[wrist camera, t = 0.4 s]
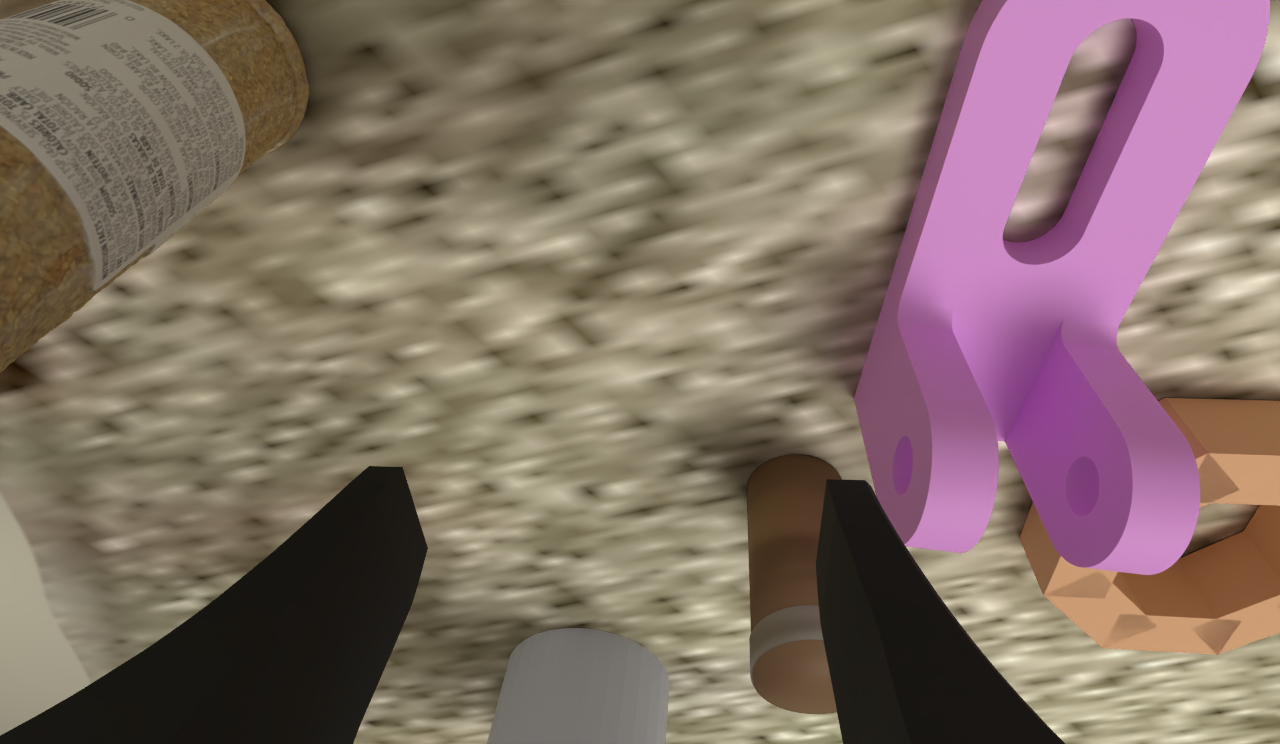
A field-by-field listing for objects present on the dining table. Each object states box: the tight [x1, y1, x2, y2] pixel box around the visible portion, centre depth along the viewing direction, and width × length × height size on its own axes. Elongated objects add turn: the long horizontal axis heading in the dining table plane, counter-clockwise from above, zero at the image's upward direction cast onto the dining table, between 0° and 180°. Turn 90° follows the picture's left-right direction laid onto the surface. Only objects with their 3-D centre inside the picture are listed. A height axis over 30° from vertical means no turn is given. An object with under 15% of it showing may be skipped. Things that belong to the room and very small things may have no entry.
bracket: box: [854, 0, 1270, 575], centre depth 16 cm, size 13×6×7 cm, turn 176°
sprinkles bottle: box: [0, 0, 310, 373], centre depth 13 cm, size 5×5×14 cm
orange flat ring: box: [1019, 398, 1280, 655], centre depth 23 cm, size 9×9×2 cm
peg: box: [747, 455, 842, 714], centre depth 22 cm, size 3×3×7 cm
